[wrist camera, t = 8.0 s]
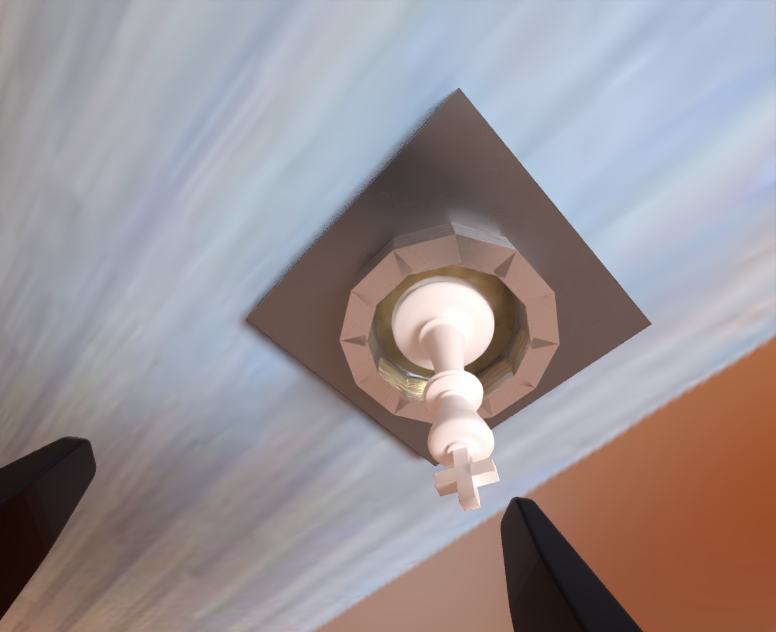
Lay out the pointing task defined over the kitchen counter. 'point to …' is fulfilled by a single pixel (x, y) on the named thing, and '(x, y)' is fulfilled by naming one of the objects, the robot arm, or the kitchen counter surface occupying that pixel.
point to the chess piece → (451, 377)
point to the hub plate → (449, 258)
